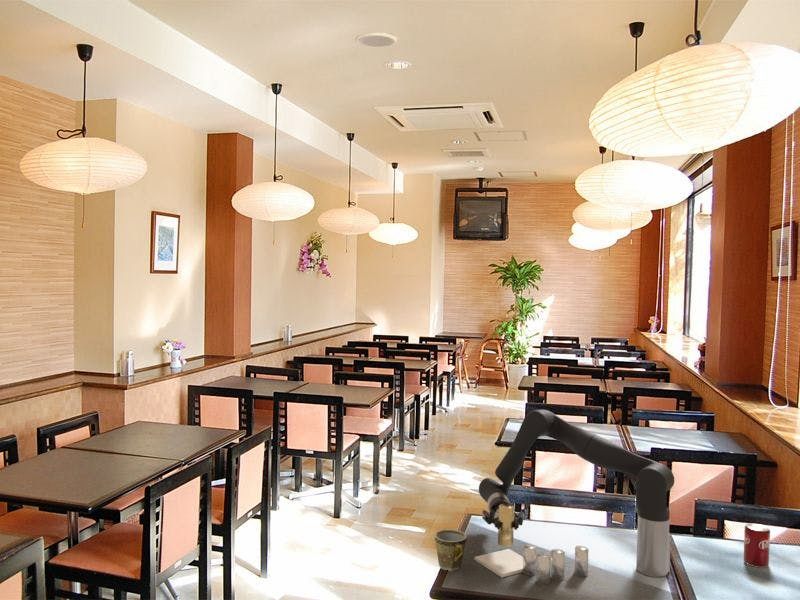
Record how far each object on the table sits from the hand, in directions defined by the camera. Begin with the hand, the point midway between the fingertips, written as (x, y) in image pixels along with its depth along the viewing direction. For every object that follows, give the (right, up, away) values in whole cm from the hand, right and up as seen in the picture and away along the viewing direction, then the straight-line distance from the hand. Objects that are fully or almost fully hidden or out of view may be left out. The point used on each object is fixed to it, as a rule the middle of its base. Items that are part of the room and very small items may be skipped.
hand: (507, 526), depth 207 cm
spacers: (+14, -13, -3) cm, 20 cm away
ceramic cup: (-17, -13, -1) cm, 22 cm away
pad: (0, -13, +3) cm, 13 cm away
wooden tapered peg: (0, -6, +3) cm, 7 cm away
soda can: (+82, -15, +7) cm, 83 cm away
